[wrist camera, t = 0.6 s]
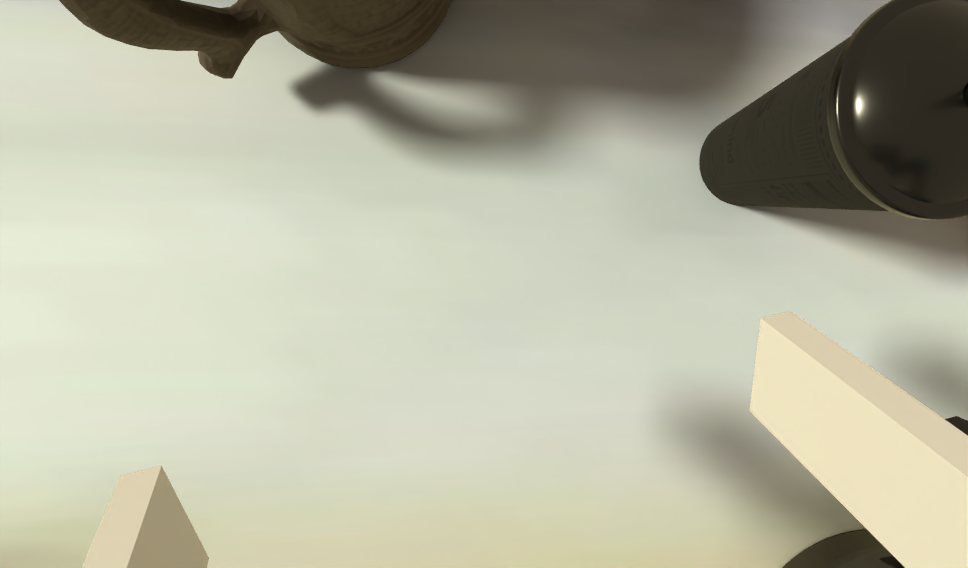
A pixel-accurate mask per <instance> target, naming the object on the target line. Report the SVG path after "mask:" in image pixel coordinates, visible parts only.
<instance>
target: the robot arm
mask: <svg viewBox="0 0 968 568" xmlns="http://www.w3.org/2000/svg"><path fill="white" fill-rule="evenodd" d="M750 412H751V413H752V414H753V415H754V416H755V417H756V418H757V419H758V420H759V421H760V422H761V423H762V424H763V425H764V426H765V427H766V428H767V429H768V430H769V431H770V432H771V433H772V434H773V435H774V436H775V437H776V438H777V439H778V440H779V441H780V442H781V443H782V444H783V445H784V446H785V447H786V448H787V449H788V450H789V451H790V452H791V453H792V454H793V455H794V456H795V457H796V458H797V459H798V460H799V461H800V462H801V463H802V464H803V465H804V466H805V467H806V468H807V469H808V470H809V471H810V472H811V473H812V474H813V475H814V476H815V477H816V478H817V479H818V480H819V481H820V482H821V483H822V484H823V486H824V487H825V488H826V489H827V490H828V491H829V492H830V493H831V494H832V495H833V496H834V497H835V498H836V499H837V500H838V501H839V502H840V503H841V504H842V505H843V506H844V507H845V508H846V509H847V510H848V511H849V512H850V513H851V514H852V515H853V516H854V517H855V518H856V519H857V520H858V521H859V522H860V523H861V524H862V525H863V526H864V527H865V528H866V529H867V530H861V531H853V532H848V533H844V534H840V535H837V536H834V537H831V538H828V539H825V540H823V541H821V542H819V543H817V544H815V545H813V546H811V547H809V548H808V549H806V550H804V551H803V552H801V553H800V554H798V555H797V556H796V557H794V558H793V559H792V560H791V561H789V562H788V563H787V564H786V565H785V566H784V567H783V568H968V421H967V420H964V419H962V418H960V417H957V416H955V417H952V418H948V419H943V418H942V417H941V416H939V415H938V414H936V413H935V412H933V411H932V410H931V409H929V408H928V407H926V406H925V405H924V404H922V403H921V402H919V401H918V400H916V399H915V398H914V397H912V396H911V395H909V394H908V393H906V392H905V391H904V390H902V389H901V388H899V387H898V386H897V385H895V384H894V383H892V382H891V381H889V380H888V379H887V378H885V377H884V376H882V375H881V374H879V373H878V372H877V371H875V370H874V369H872V368H871V367H870V366H868V365H867V364H865V363H864V362H862V361H861V360H860V359H858V358H857V357H855V356H854V355H852V354H851V353H850V352H848V351H847V350H845V349H844V348H843V347H841V346H840V345H838V344H837V343H835V342H834V341H833V340H831V339H830V338H828V337H827V336H825V335H824V334H823V333H821V332H820V331H818V330H817V329H816V328H814V327H813V326H811V325H810V324H808V323H807V322H806V321H804V320H803V319H801V318H800V317H798V316H797V315H796V314H794V313H793V312H791V311H788V312H784V313H780V314H776V315H772V316H768V317H764V318H761V322H760V330H759V338H758V346H757V354H756V362H755V371H754V379H753V387H752V395H751V403H750ZM208 559H209V557H208V555H207V553H206V551H205V549H204V548H203V546H202V544H201V542H200V540H199V538H198V536H197V534H196V532H195V530H194V528H193V526H192V524H191V522H190V520H189V518H188V516H187V514H186V513H185V511H184V509H183V507H182V505H181V503H180V501H179V499H178V497H177V495H176V493H175V491H174V489H173V487H172V485H171V483H170V481H169V479H168V478H167V476H166V474H165V472H164V470H163V468H162V466H158V467H154V468H150V469H146V470H142V471H138V472H134V473H130V474H126V475H122V476H120V477H119V480H118V482H117V485H116V487H115V489H114V492H113V494H112V496H111V499H110V501H109V504H108V506H107V508H106V511H105V513H104V516H103V518H102V520H101V523H100V525H99V528H98V530H97V532H96V535H95V537H94V540H93V542H92V544H91V547H90V549H89V552H88V554H87V556H86V559H85V561H84V564H83V566H82V568H207V564H208Z"/></svg>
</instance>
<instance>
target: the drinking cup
mask: <svg viewBox="0 0 968 568" xmlns="http://www.w3.org/2000/svg"><path fill="white" fill-rule="evenodd" d="M700 172H701V176H702V178H703V181H704V183H705V185H706V186H707V188H708V189H709V190H710V191H711V193H712V194H713V195H715V196H716V197H717V198H719V199H720V200H722V201H724V202H727V203H730V204H734V205H751V206H776V207H801V208H826V209H851V210H876V211H891V212H893V213H896V214H898V215H901V216H905V217H909V218H913V219H920V220H947V219H954V218H960V217H964V216H968V0H892V1H890V2H888V3H887V4H885V5H883V6H882V7H880V8H879V9H877V10H876V11H875V12H874V13H872V14H871V15H870V16H869V17H868V18H867V19H865V20H864V21H863V22H862V23H861V24H860V26H859V27H858V28H857V29H856V30H855V31H854V33H853V34H852V35H851V37H849V38H848V39H846V40H845V41H843V42H842V43H840V44H839V45H837V46H836V47H834V48H833V49H831V50H830V51H828V52H827V53H825V54H824V55H822V56H821V57H819V58H818V59H816V60H815V61H813V62H812V63H810V64H809V65H807V66H806V67H804V68H803V69H801V70H800V71H799V72H797V73H796V74H794V75H793V76H791V77H790V78H788V79H787V80H785V81H784V82H782V83H781V84H779V85H778V86H776V87H775V88H773V89H772V90H770V91H769V92H767V93H766V94H764V95H763V96H761V97H760V98H758V99H757V100H755V101H754V102H752V103H751V104H749V105H748V106H746V107H745V108H743V109H742V110H740V111H739V112H737V113H736V114H734V115H733V116H732V117H730V118H729V119H727V120H726V121H724V122H723V123H721V124H720V125H718V126H717V127H716V128H715V129H713V130H712V131H711V133H710V134H709V135H708V136H707V138H706V140H705V142H704V144H703V146H702V149H701V153H700Z"/></svg>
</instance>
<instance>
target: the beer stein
mask: <svg viewBox="0 0 968 568" xmlns="http://www.w3.org/2000/svg"><path fill="white" fill-rule="evenodd" d="M59 1H60V2H61V3H62V4H63V5H64V6H65V7H66V8H67V9H68V10H69V11H70V12H71V13H72V14H73V15H74V16H75V17H76V18H78V19H79V20H80V21H81V22H82V23H83V24H84V25H86V26H87V27H89V28H91V29H93V30H95V31H96V32H98V33H100V34H102V35H104V36H105V37H108V38H111V39H114V40H117V41H120V42H123V43H126V44H129V45H133V46H138V47H142V48H147V49H159V50H174V51H191V50H193V51H199V52H198V57H199V61H200V64H201V65H202V66H203V67H204V68H205V69H206V70H207V71H208V72H210V73H211V74H214V75H217V76H219V77H222V78H233V76H234V74H235V73H236V71H237V69H238V67H239V65H240V63H241V61H242V59H243V58H244V56H245V55H246V54H247V52H248V51H249V50H250V48H251V47H252V45H253V44H254V43H255V41H256V40H257V39H259V38H260V37H262V36H263V35H266V34H269V33H272V32H275V31H279V32H280V34H281V35H282V36H283V37H284V38H285V39H286V40H287V41H288V42H289V43H291V44H292V45H294V46H295V47H297V48H298V49H300V50H301V51H303V52H304V53H306V54H307V55H309V56H311V57H314V58H316V59H318V60H320V61H322V62H325V63H330V64H334V65H339V66H343V67H347V68H360V67H377V66H381V65H384V64H388V63H391V62H395V61H397V60H399V59H401V58H403V57H405V56H407V55H408V54H410V53H412V52H413V51H414V50H416V49H417V48H419V47H420V46H421V45H423V44H424V43H425V42H426V41H427V40H428V38H429V37H430V36H431V35H432V34H433V33H434V32H435V31H436V29H437V28H438V26H439V25H440V23H441V22H442V20H443V19H444V17H445V15H446V13H447V10H448V8H449V6H450V3H451V1H452V0H238V2H237V3H235V4H234V5H232V6H231V7H226V8H216V7H211V6H206V5H201V4H196V3H191V2H186V1H181V0H59Z"/></svg>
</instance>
